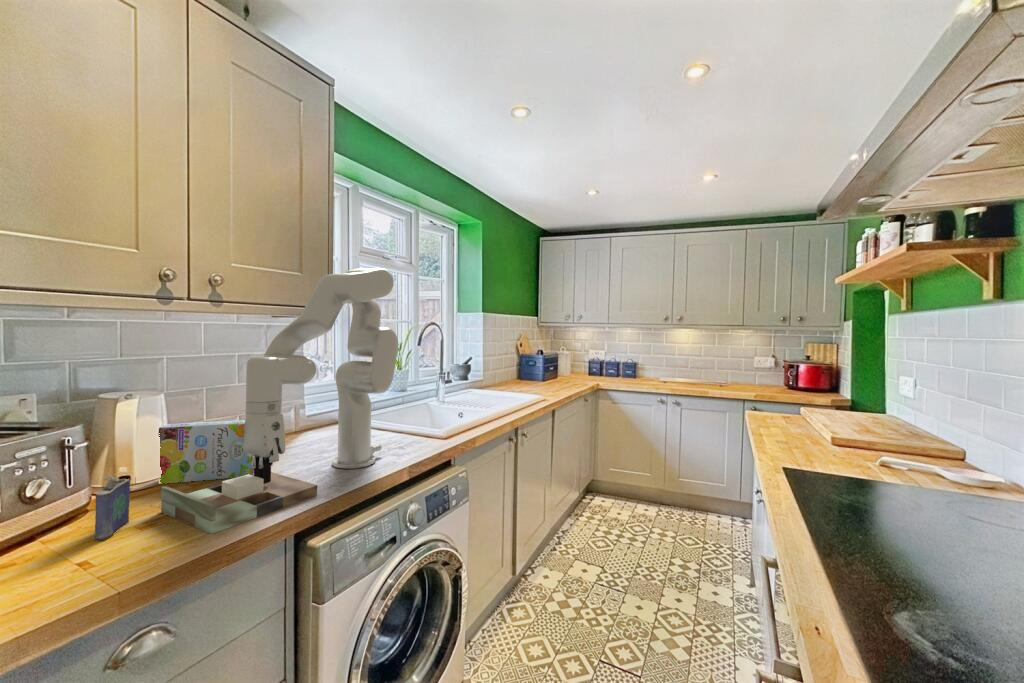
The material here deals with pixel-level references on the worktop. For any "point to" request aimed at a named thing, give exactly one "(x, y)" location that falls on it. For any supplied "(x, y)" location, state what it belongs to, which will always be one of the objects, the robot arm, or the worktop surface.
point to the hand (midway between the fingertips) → (262, 482)
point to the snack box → (203, 451)
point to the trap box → (233, 503)
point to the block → (242, 486)
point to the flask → (112, 508)
